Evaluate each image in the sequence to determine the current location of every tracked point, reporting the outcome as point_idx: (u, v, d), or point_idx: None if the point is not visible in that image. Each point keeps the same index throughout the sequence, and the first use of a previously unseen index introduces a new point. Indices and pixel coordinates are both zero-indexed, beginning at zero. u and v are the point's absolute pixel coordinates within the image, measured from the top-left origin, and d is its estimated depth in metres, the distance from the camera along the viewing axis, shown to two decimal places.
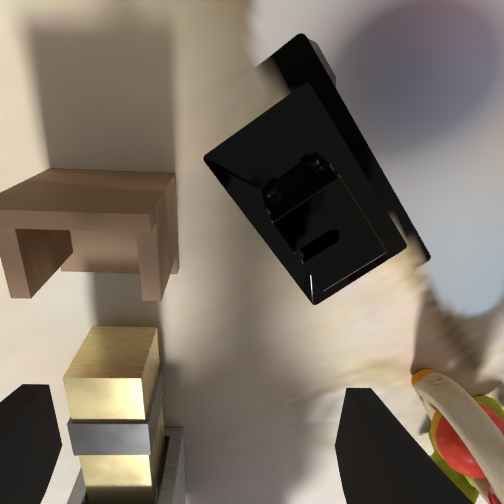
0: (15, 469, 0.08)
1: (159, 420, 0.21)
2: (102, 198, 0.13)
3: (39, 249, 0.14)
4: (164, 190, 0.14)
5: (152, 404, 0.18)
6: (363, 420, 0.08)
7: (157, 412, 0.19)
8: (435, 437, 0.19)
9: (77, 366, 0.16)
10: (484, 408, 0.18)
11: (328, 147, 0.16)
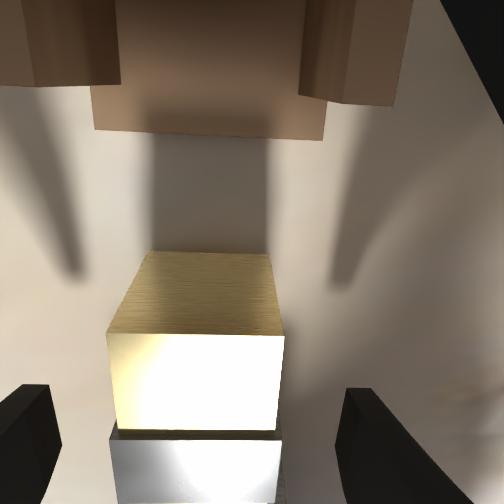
0: (15, 469, 0.08)
1: None
2: None
3: None
4: None
5: None
6: (363, 420, 0.08)
7: None
8: None
9: (134, 311, 0.07)
10: None
11: None
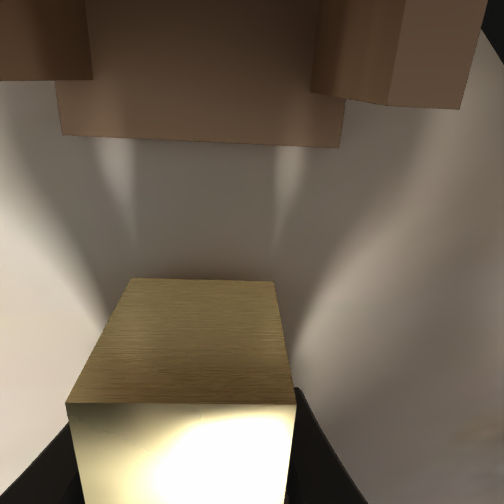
0: None
1: None
2: None
3: None
4: None
5: None
6: None
7: None
8: None
9: (106, 368, 0.06)
10: None
11: None
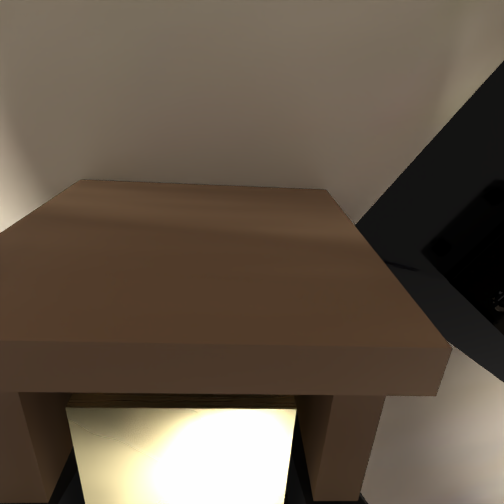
0: None
1: None
2: (248, 271, 0.05)
3: None
4: (361, 236, 0.06)
5: None
6: None
7: None
8: None
9: None
10: None
11: None
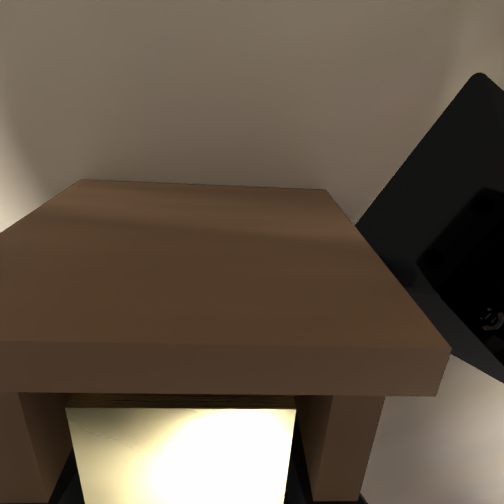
0: None
1: None
2: (248, 271, 0.05)
3: None
4: (361, 237, 0.06)
5: None
6: None
7: None
8: None
9: None
10: None
11: None
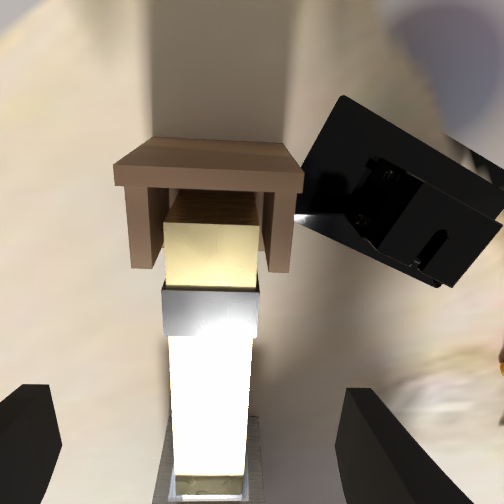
0: (15, 469, 0.08)
1: None
2: (238, 160, 0.12)
3: (157, 217, 0.14)
4: (291, 156, 0.13)
5: (257, 278, 0.15)
6: (363, 420, 0.08)
7: None
8: None
9: (176, 215, 0.13)
10: None
11: (391, 147, 0.16)
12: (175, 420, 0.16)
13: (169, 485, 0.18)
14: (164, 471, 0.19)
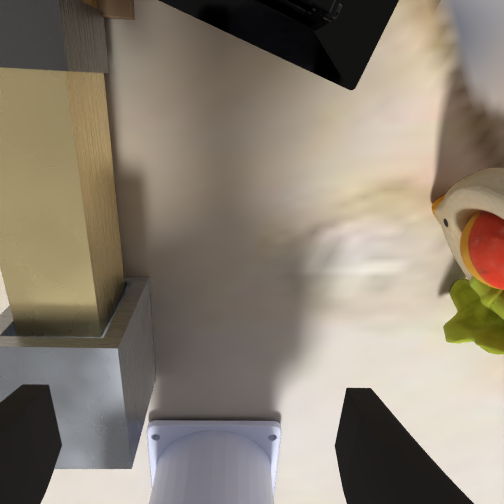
0: (15, 469, 0.08)
1: (98, 101, 0.14)
2: None
3: None
4: None
5: None
6: (363, 420, 0.08)
7: (87, 49, 0.12)
8: (467, 246, 0.15)
9: None
10: None
11: None
12: None
13: (10, 324, 0.15)
14: (9, 313, 0.15)
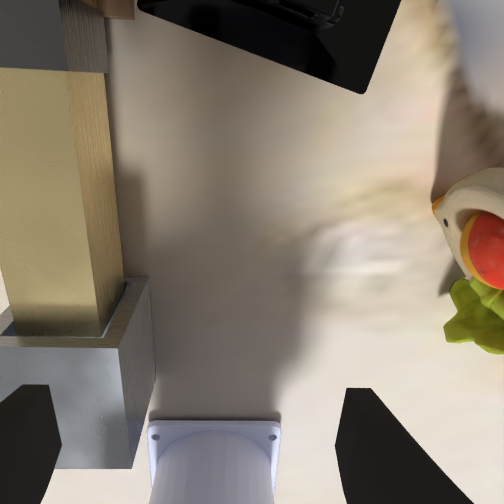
0: (15, 469, 0.08)
1: (98, 101, 0.14)
2: None
3: None
4: None
5: None
6: (363, 420, 0.08)
7: (87, 49, 0.12)
8: (467, 246, 0.15)
9: None
10: None
11: None
12: None
13: (10, 324, 0.15)
14: (9, 313, 0.15)
